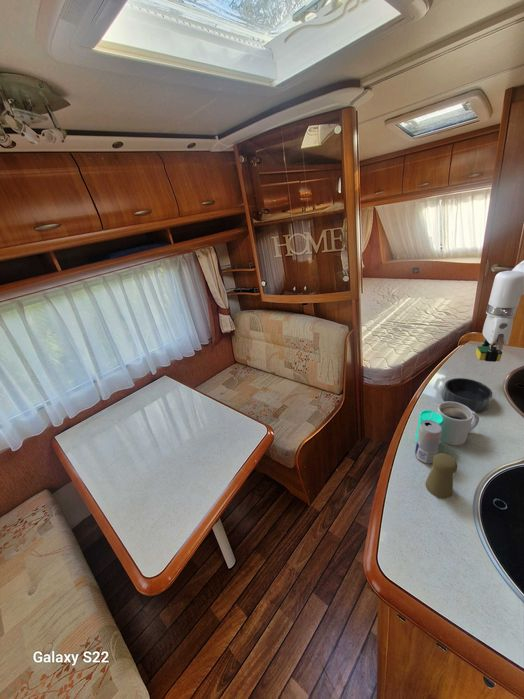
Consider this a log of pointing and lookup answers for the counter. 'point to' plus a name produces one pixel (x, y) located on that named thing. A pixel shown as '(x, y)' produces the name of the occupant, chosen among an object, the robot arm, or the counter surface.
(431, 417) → the candle
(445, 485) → the cork
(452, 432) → the mug
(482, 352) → the sponge
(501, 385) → the counter surface
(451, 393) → the bowl
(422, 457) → the energy drink
